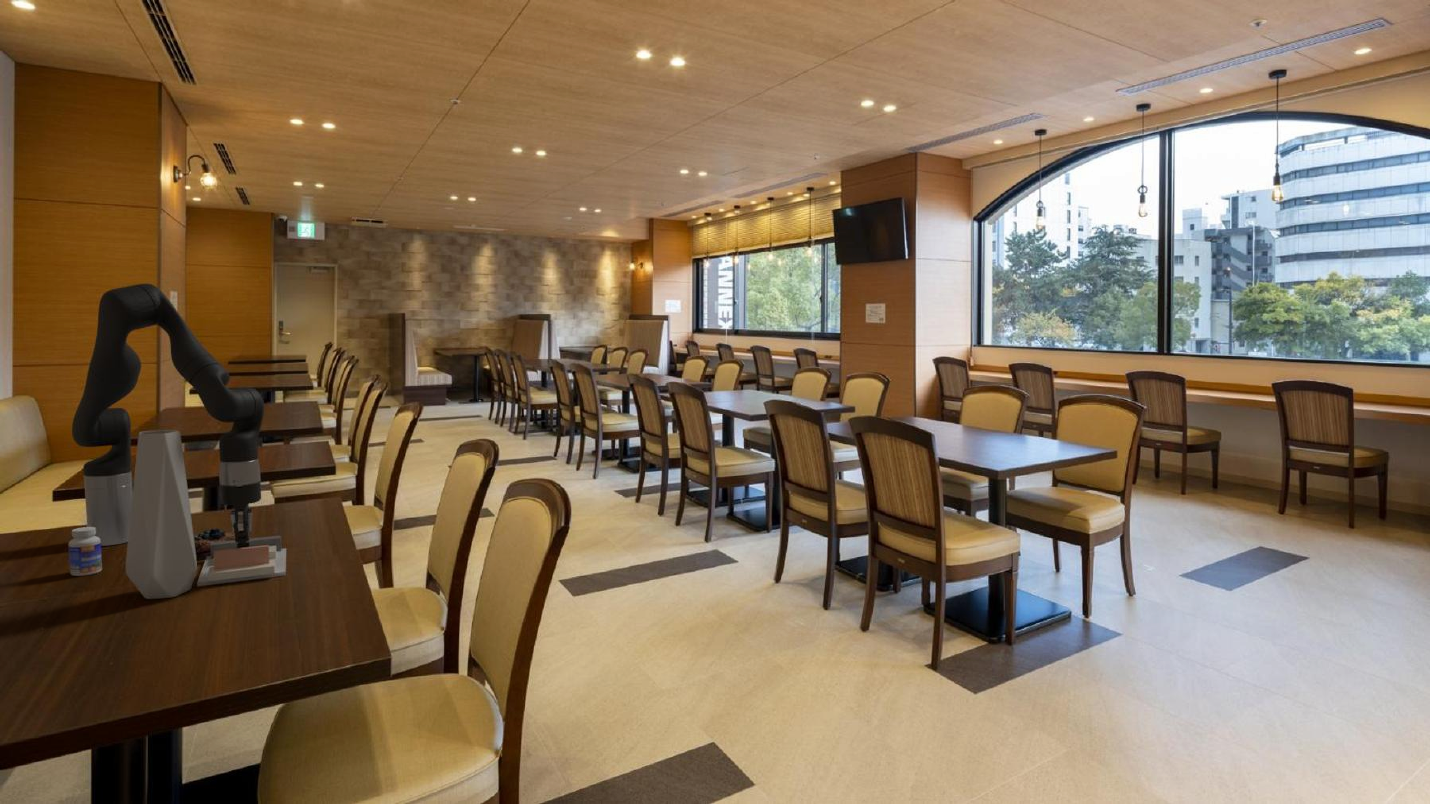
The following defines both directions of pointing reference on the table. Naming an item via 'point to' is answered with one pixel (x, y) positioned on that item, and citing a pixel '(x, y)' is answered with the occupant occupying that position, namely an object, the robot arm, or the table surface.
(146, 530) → the vase
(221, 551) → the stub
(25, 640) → the table surface
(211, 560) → the white tray
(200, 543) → the pastry
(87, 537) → the pill bottle
